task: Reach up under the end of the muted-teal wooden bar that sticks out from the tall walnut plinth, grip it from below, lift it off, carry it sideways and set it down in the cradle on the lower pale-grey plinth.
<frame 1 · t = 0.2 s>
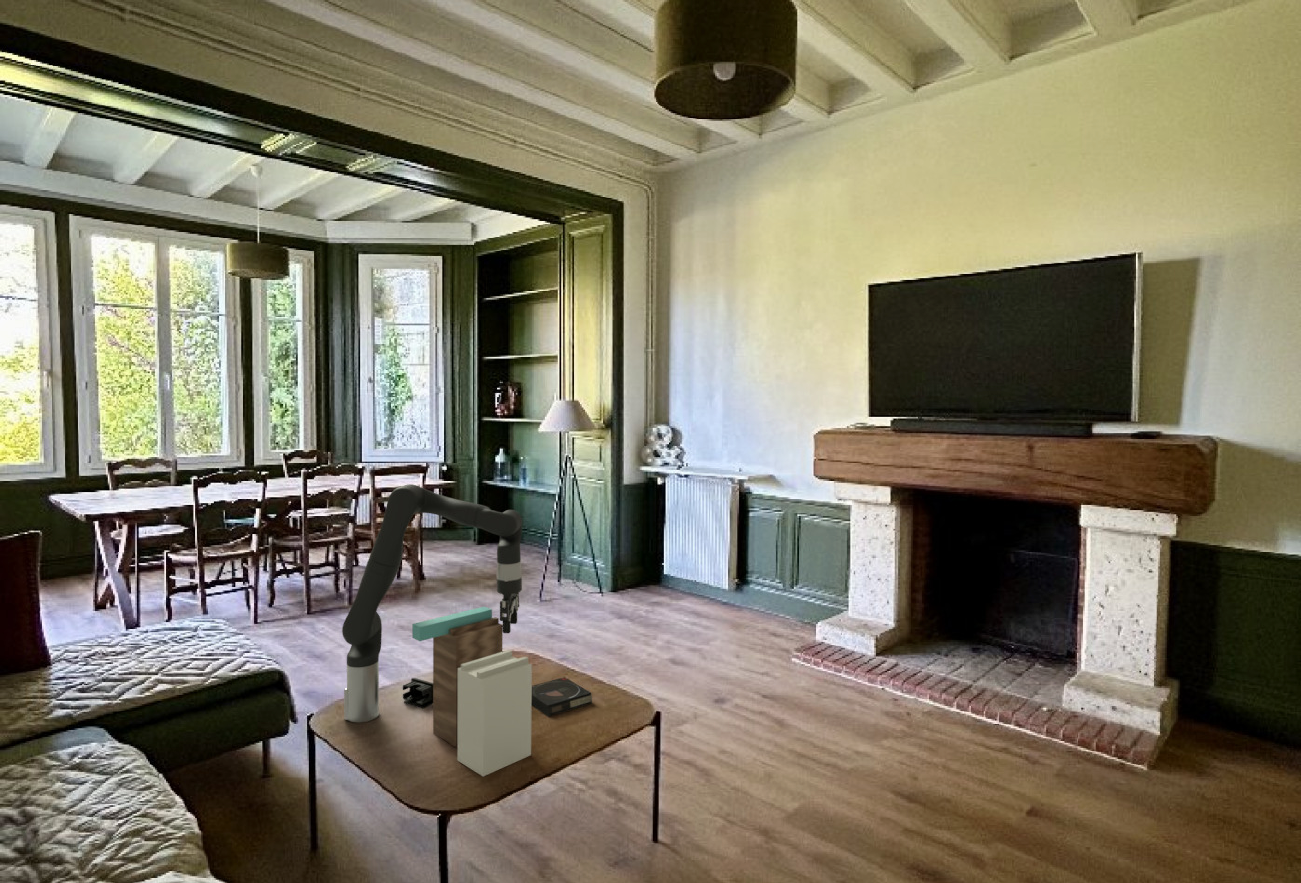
hand: (510, 628, 222), 29 cm above the table, tool pointing down, fingers open, 8 cm apart
walnut plinth: (467, 730, 217), on the table
teal bar: (453, 629, 211), point 32 cm above the table, touching walnut plinth
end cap: (421, 702, 237), on the table
grey plinth: (494, 757, 201), on the table
portable cd player: (556, 703, 239), on the table
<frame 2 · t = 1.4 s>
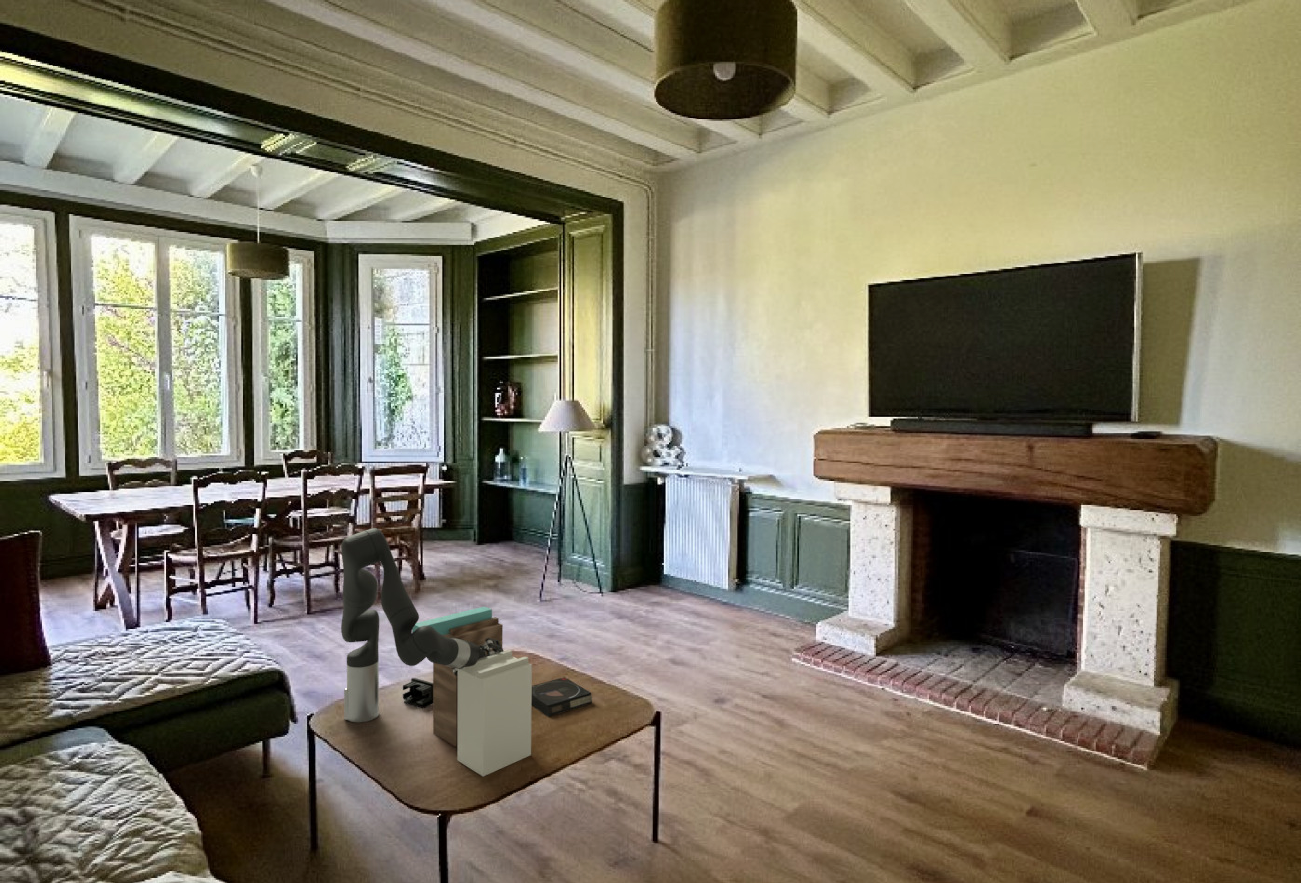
hand: (491, 661, 210), 23 cm above the table, tool tilted 65°, fingers open, 7 cm apart
nothing on the table moved.
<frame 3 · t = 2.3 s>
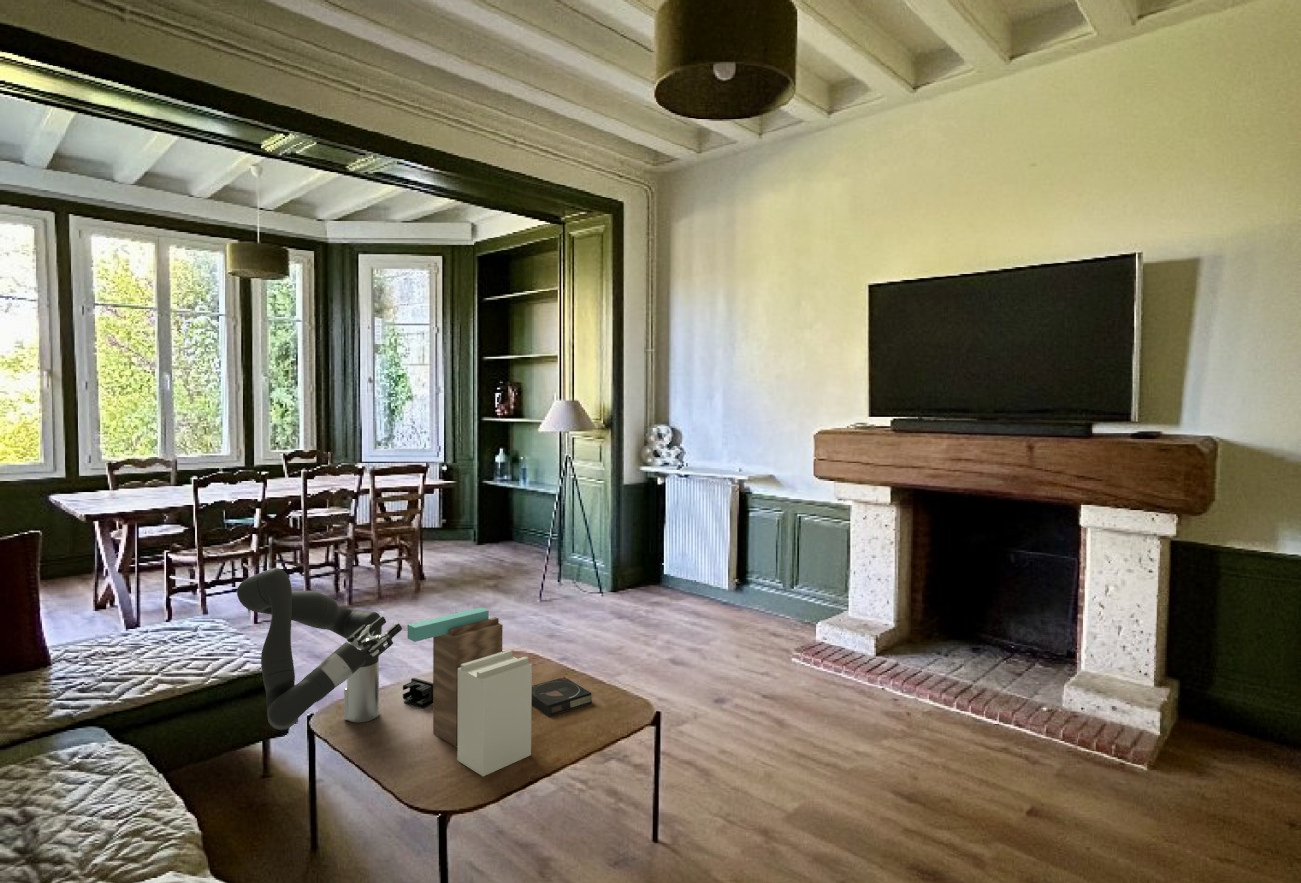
hand: (392, 622, 197), 39 cm above the table, tool pointing upward, fingers open, 8 cm apart
teal bar: (449, 630, 211), point 32 cm above the table, touching walnut plinth
everything else where it was.
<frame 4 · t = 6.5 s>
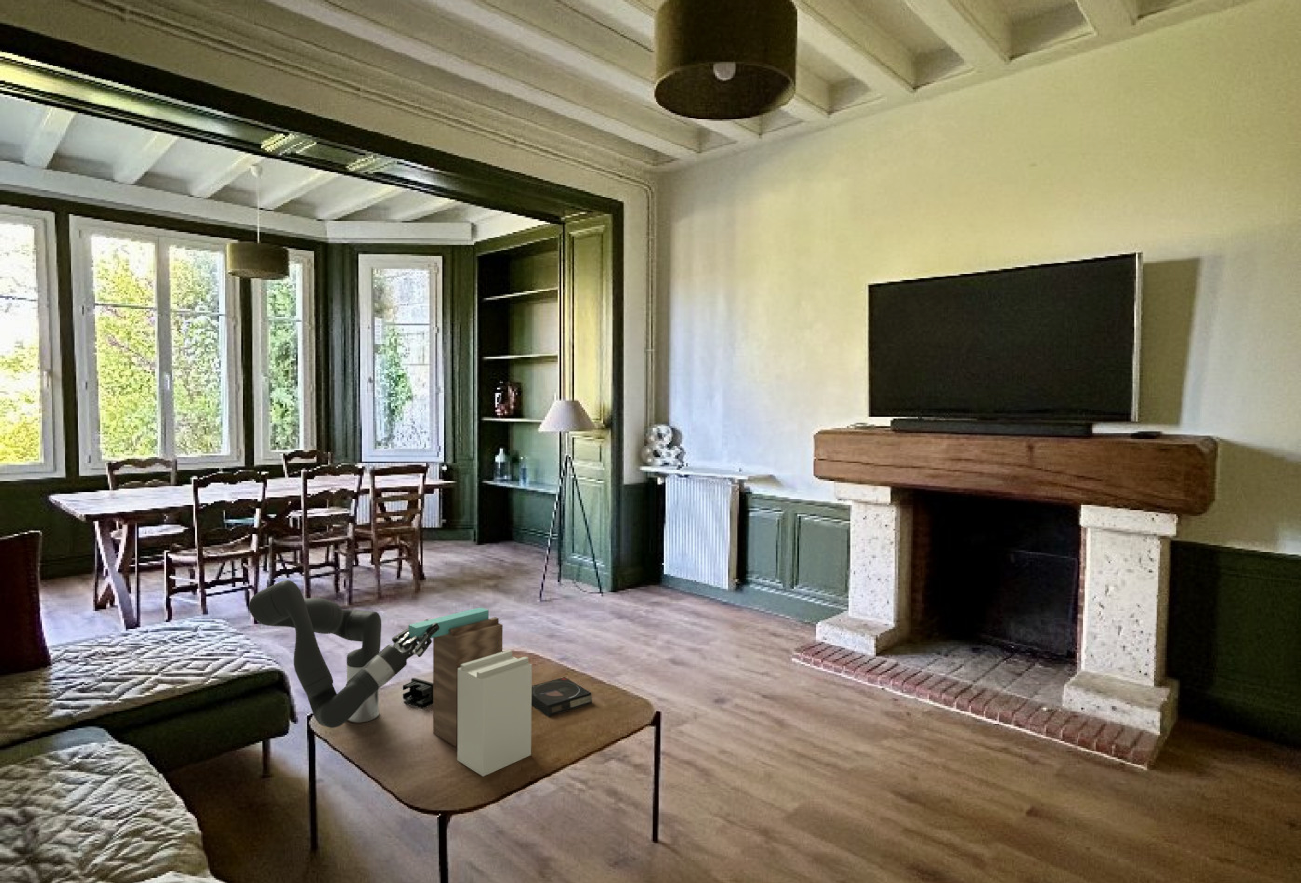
hand: (433, 623, 206), 35 cm above the table, tool pointing upward, fingers closed on teal bar, 4 cm apart
teal bar: (450, 630, 210), point 32 cm above the table, touching gripper, walnut plinth
everything else where it was.
when the fingers open (31 cm above the table, at t = 14.3 s): teal bar drops 1 cm, resting on grey plinth.
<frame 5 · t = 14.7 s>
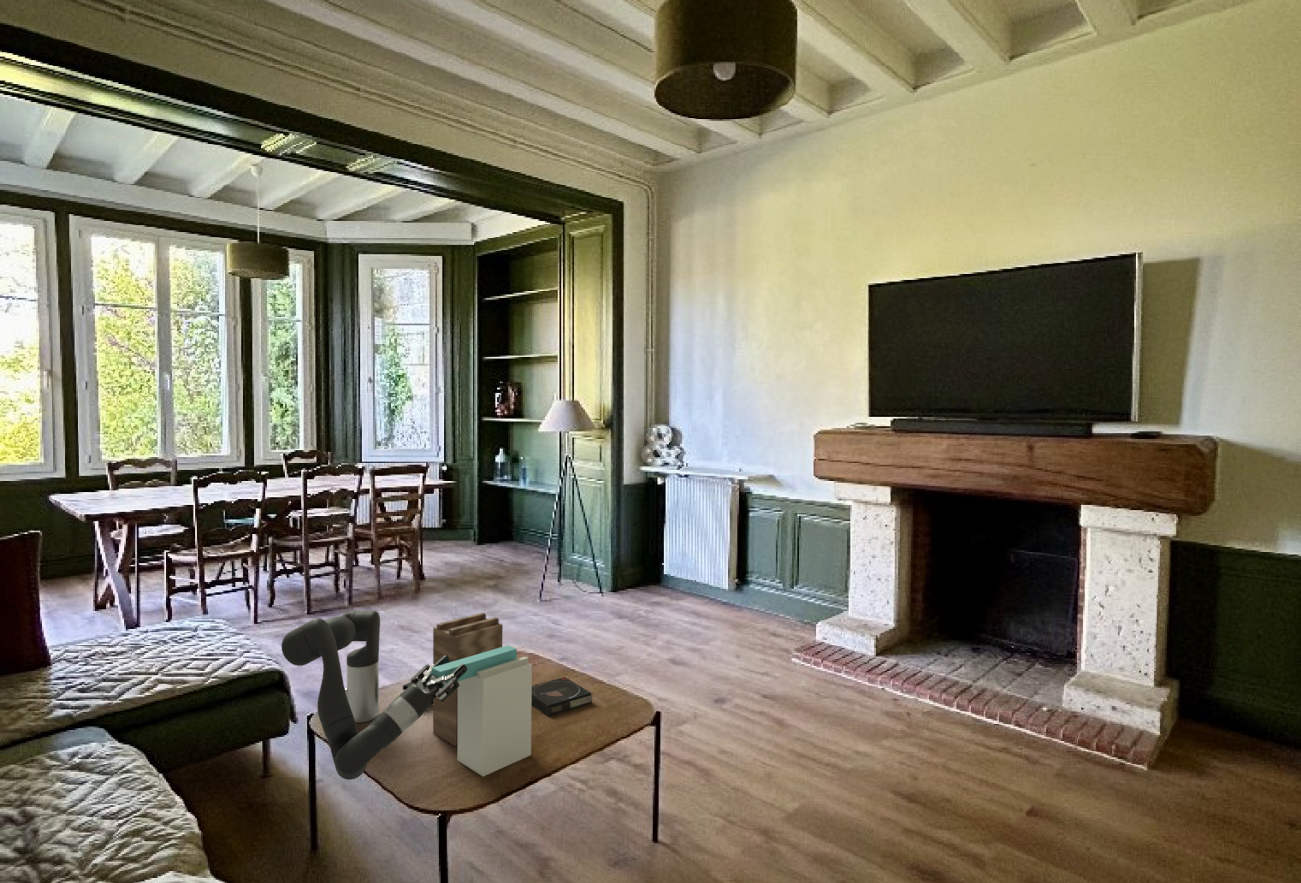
hand: (456, 661, 190), 31 cm above the table, tool pointing upward, fingers open, 8 cm apart
teal bar: (475, 672, 195), point 26 cm above the table, touching grey plinth
everything else where it was.
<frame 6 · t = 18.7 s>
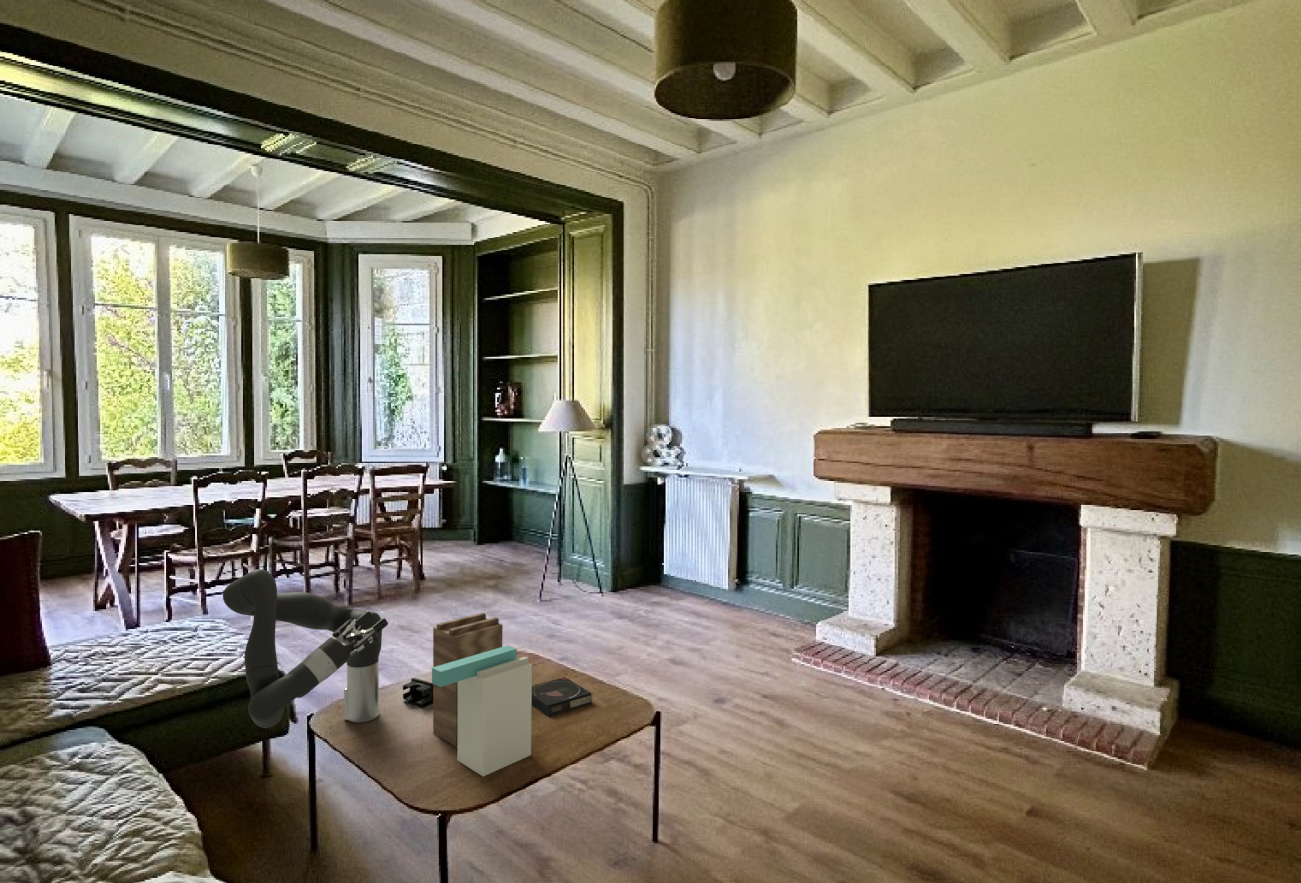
hand: (378, 616, 193), 41 cm above the table, tool pointing upward, fingers open, 8 cm apart
nothing on the table moved.
at the end: teal bar inside the target area on the grey plinth (1.2 cm from its centre), point 26.0 cm above the grey plinth's base; teal bar touching grey plinth; the gripper is holding nothing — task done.
